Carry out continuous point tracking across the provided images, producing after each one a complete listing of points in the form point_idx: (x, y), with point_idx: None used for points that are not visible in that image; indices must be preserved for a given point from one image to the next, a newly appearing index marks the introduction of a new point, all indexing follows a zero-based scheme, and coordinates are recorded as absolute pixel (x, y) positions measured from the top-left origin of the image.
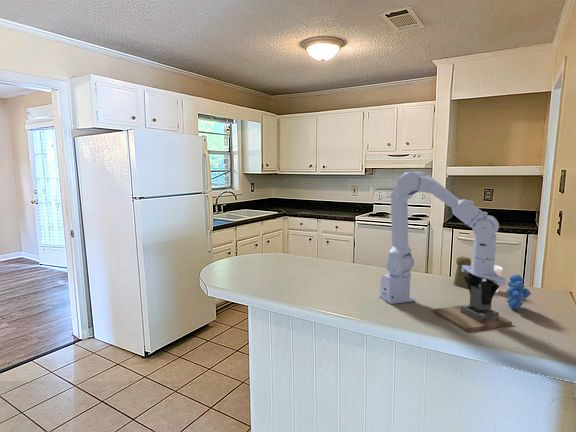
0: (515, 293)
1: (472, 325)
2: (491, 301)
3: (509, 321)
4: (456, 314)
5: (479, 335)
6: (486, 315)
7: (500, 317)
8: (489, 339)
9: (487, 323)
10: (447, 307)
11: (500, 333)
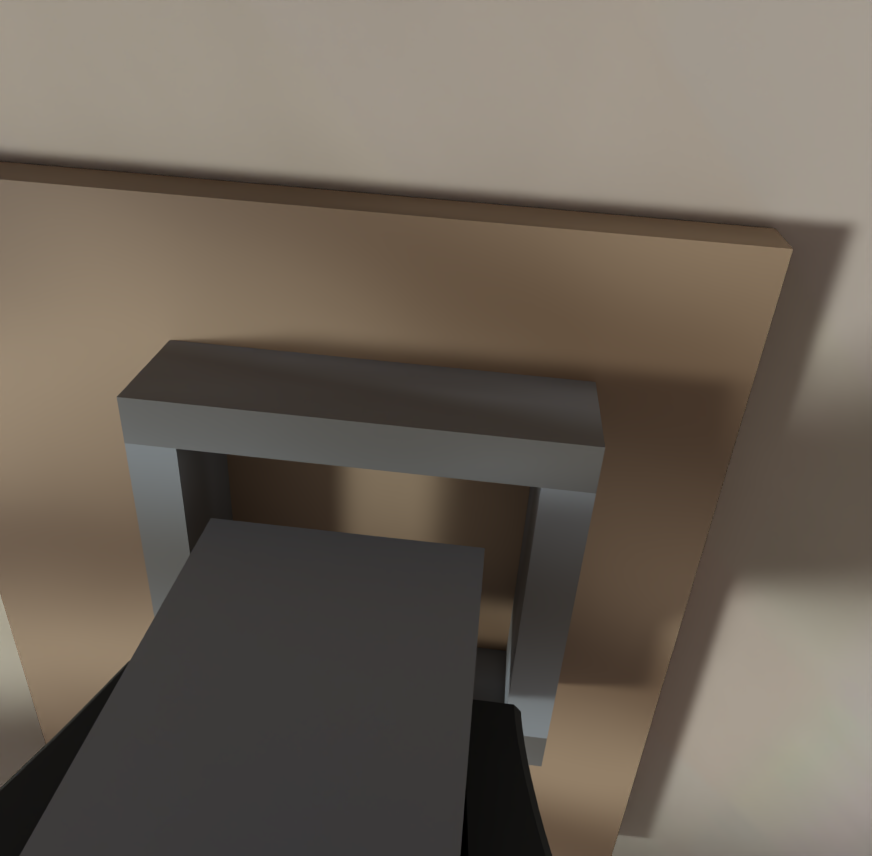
0: None
1: (581, 793)
2: (472, 665)
3: (762, 289)
4: None
5: (725, 801)
6: (562, 654)
7: (564, 285)
8: (842, 794)
9: (627, 632)
10: (28, 660)
11: (836, 609)
